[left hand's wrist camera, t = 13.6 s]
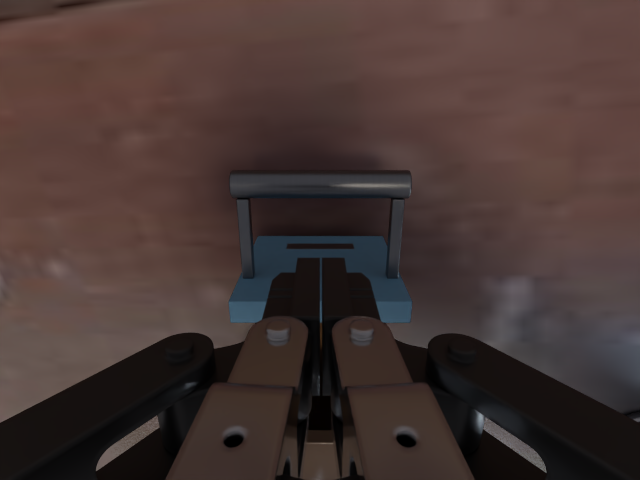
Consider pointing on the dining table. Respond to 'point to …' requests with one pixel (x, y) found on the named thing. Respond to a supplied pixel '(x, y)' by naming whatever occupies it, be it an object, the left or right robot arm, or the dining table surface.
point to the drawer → (320, 246)
